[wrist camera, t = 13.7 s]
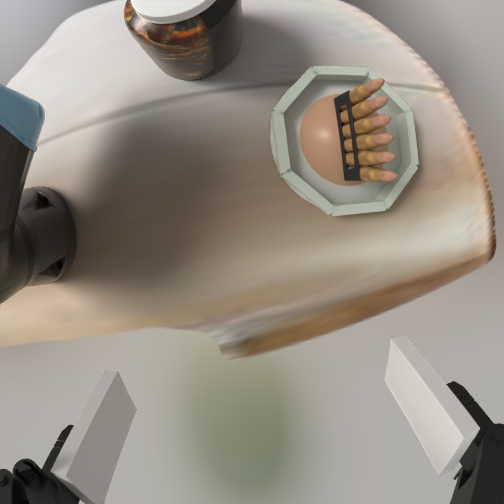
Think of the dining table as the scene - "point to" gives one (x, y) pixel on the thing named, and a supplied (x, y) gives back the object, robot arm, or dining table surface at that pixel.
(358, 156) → the ammunition clip
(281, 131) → the octagonal tray
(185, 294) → the dining table surface
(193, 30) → the jar
